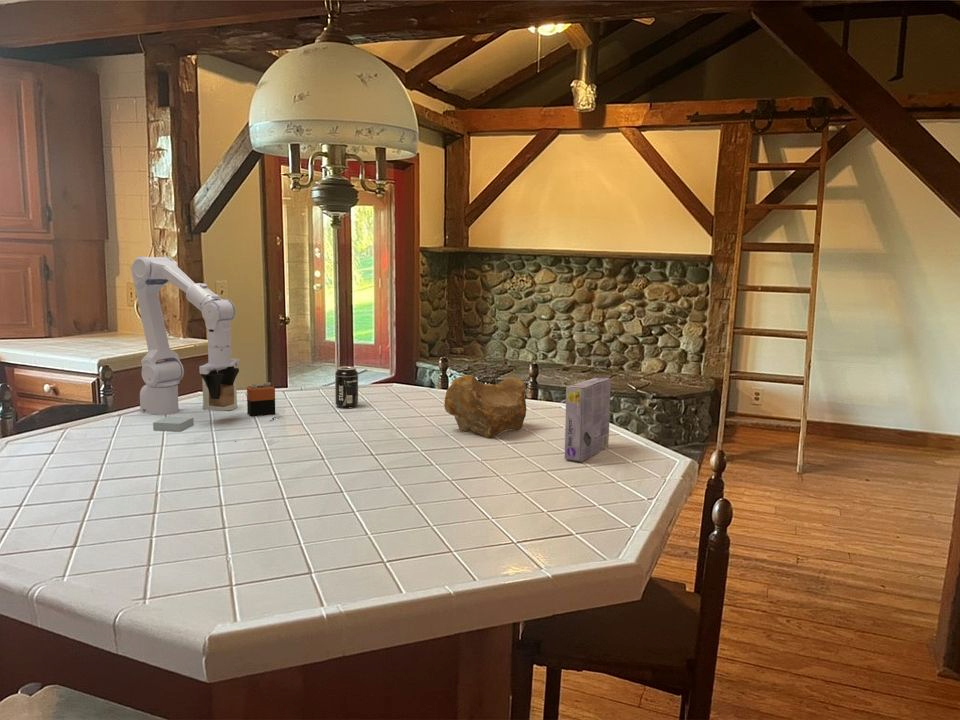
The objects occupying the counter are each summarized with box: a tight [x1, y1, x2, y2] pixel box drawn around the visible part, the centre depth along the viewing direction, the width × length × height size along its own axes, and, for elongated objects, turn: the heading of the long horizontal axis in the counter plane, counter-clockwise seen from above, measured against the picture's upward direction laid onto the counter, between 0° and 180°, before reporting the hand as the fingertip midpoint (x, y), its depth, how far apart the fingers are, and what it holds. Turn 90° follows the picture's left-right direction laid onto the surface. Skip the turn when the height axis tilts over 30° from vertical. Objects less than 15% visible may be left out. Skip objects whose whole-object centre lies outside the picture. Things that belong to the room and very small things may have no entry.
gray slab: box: [152, 416, 195, 432], centre depth 180 cm, size 7×7×2 cm
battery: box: [246, 382, 276, 420], centre depth 196 cm, size 4×7×10 cm, turn 122°
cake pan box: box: [564, 377, 612, 463], centre depth 170 cm, size 19×5×18 cm, turn 149°
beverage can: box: [334, 365, 359, 409], centre depth 215 cm, size 7×7×12 cm
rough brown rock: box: [444, 374, 527, 439], centre depth 188 cm, size 23×17×15 cm
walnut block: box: [209, 384, 234, 407], centre depth 187 cm, size 4×4×5 cm
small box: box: [201, 377, 238, 411], centre depth 208 cm, size 8×6×10 cm
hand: (220, 396), depth 187 cm, fingers closed on walnut block, 4 cm apart
